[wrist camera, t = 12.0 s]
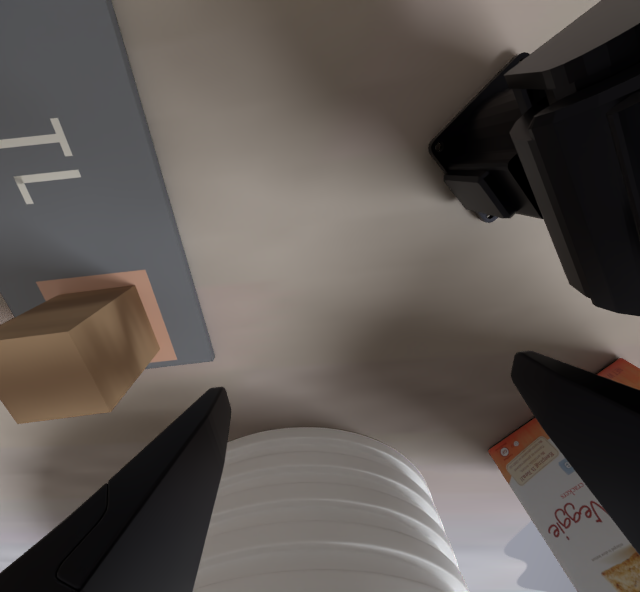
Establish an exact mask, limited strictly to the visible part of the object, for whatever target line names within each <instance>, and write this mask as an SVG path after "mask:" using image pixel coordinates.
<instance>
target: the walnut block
mask: <svg viewBox="0 0 640 592" xmlns="http://www.w3.org/2000/svg"><path fill="white" fill-rule="evenodd" d="M159 350H160V347H159V344H158V342H157V339H156V337H155V334H154V332H153V329H152V327H151V324H150V322H149V319H148V317H147V314H146V311H145V309H144V306H143V304H142V301H141V299H140V296H139V294H138V291H137V289H136V286H135V285H131V286H124V287H116V288H108V289H100V290H92V291H84V292H76V293H68V294H60V295H57V296H55V297H53V298H51V299H50V300H48V301H46V302H44V303H42V304H40V305H38V306H36V307H34V308H32V309H30V310H28V311H26V312H24V313H23V314H21V315H19V316H17V317H15V318H13V319H11V320H9V321H7V322H5V323H3V324H1V325H0V400H1V401H2V403H3V404H4V406H5V407H6V408H7V410H8V411H9V413H10V414H11V415H12V417H13V418H14V420H15V421H16V422H17V424H21V423H29V422H37V421H45V420H53V419H60V418H68V417H76V416H84V415H92V414H99V413H107V412H111V411H112V410H113V409H114V407H115V406H116V405H117V403H118V402H119V401H120V400H121V398H122V397H123V396H124V395H125V393H126V392H127V391H128V390H129V388H130V387H131V386H132V384H133V383H134V382H135V381H136V379H137V378H138V377H139V376H140V374H141V373H142V372H143V370H144V369H145V368H146V367H147V365H148V364H149V363H150V362H151V360H152V359H153V358H154V357H155V355H156V354H157V353H158V351H159Z"/></svg>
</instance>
